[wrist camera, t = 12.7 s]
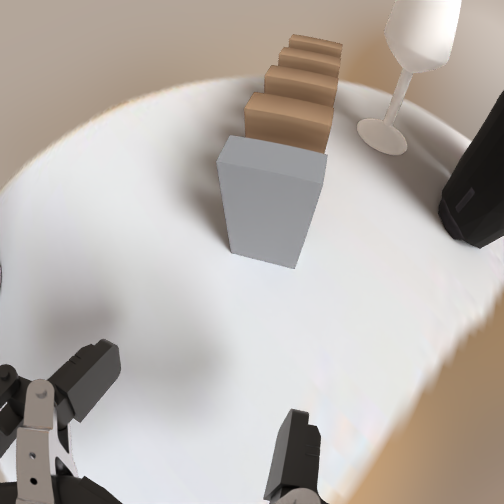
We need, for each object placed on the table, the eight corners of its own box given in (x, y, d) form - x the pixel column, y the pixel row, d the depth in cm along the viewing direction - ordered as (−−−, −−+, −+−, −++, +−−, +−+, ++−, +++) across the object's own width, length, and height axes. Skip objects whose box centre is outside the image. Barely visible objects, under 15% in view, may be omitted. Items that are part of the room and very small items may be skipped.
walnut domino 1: (325, 125, 28) (341, 49, 19) (282, 115, 29) (289, 39, 20) (327, 116, 29) (342, 44, 20) (286, 107, 30) (292, 34, 21)
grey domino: (294, 269, 21) (323, 184, 12) (231, 252, 21) (216, 161, 12) (300, 246, 22) (327, 154, 13) (238, 231, 22) (229, 135, 13)
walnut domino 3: (314, 181, 24) (336, 90, 15) (262, 168, 25) (264, 75, 16) (317, 166, 25) (338, 78, 16) (267, 154, 26) (271, 65, 17)
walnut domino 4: (305, 220, 23) (331, 126, 14) (247, 205, 23) (244, 108, 14) (309, 201, 23) (334, 108, 14) (254, 187, 24) (254, 91, 15)
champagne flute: (391, 119, 29) (441, -38, 8) (416, 155, 27) (490, -17, 5) (347, 117, 29) (386, -62, 7) (371, 155, 26) (437, -52, 4)
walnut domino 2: (320, 150, 26) (339, 66, 17) (273, 138, 27) (278, 54, 18) (323, 138, 27) (340, 58, 18) (278, 127, 28) (283, 47, 19)
